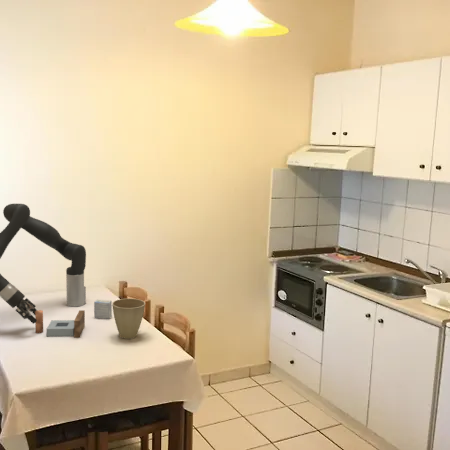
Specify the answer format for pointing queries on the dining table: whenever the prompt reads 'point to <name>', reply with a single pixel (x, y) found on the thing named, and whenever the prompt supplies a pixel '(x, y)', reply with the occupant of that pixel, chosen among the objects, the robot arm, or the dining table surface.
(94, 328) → the dining table surface
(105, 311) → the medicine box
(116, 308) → the plant pot
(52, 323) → the pocket block
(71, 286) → the robot arm
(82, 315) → the backstop wall
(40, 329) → the dowel
